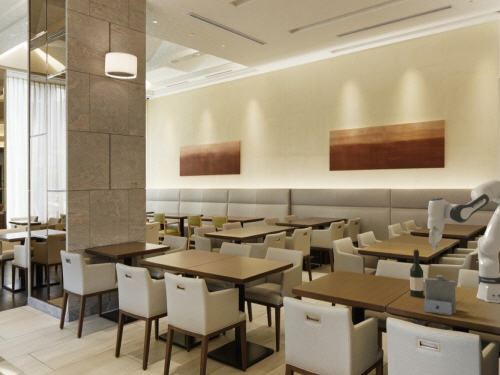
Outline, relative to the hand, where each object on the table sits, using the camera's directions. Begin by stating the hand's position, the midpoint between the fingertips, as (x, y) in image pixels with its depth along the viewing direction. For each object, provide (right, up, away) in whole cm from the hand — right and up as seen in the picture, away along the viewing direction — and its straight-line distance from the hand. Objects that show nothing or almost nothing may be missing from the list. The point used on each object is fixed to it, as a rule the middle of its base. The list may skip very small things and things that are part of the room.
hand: (435, 249), depth 234 cm
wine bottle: (+1, -35, +27) cm, 44 cm away
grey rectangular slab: (+1, -35, -4) cm, 35 cm away
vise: (+1, -34, -4) cm, 35 cm away
